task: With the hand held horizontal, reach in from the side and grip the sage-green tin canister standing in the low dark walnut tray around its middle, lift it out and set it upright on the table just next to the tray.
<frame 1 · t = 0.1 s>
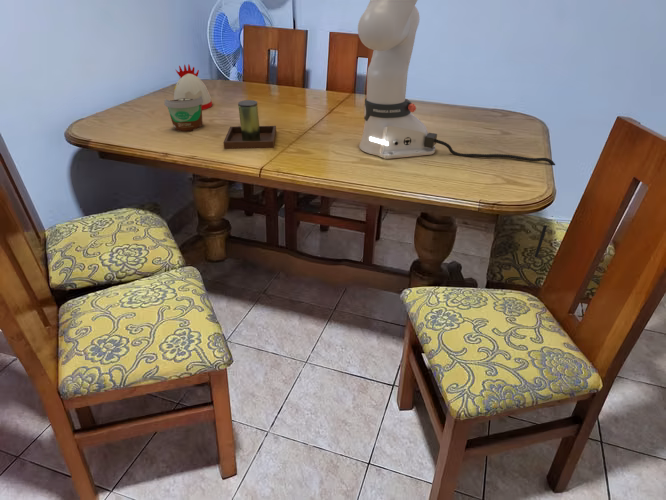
tray: (251, 141, 143), on the table
kitchen timer: (193, 106, 176), on the table
food container: (188, 130, 153), on the table
tin canister: (251, 139, 143), resting on tray
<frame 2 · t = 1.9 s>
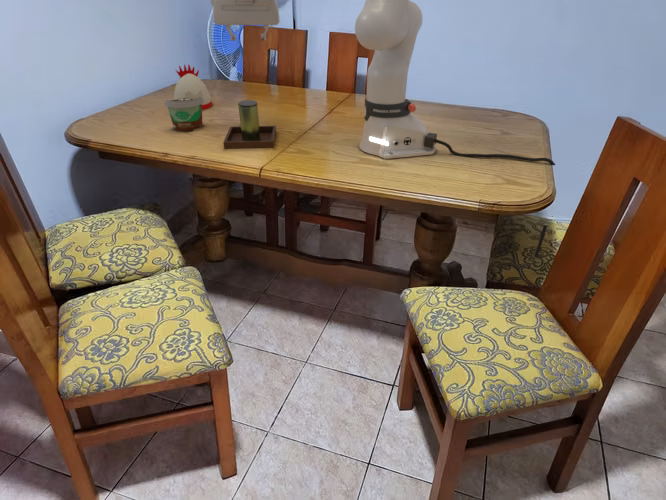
hand: (248, 40, 147), 26 cm above the table, tool pointing down, fingers open, 8 cm apart
nothing on the table moved.
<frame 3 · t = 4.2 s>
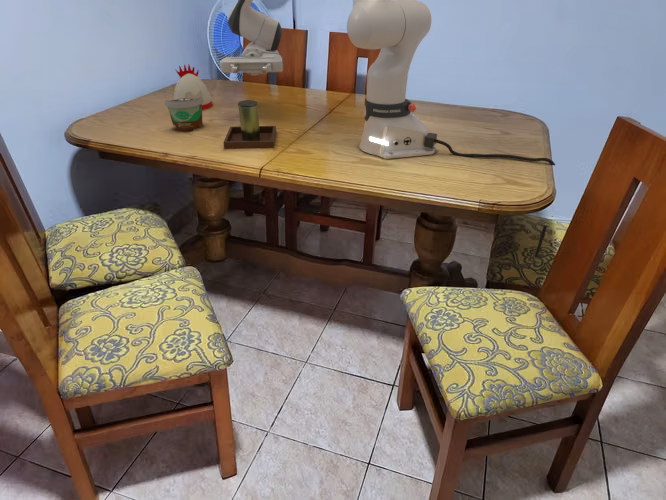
hand: (249, 70, 145), 18 cm above the table, tool horizontal, fingers open, 8 cm apart
nothing on the table moved.
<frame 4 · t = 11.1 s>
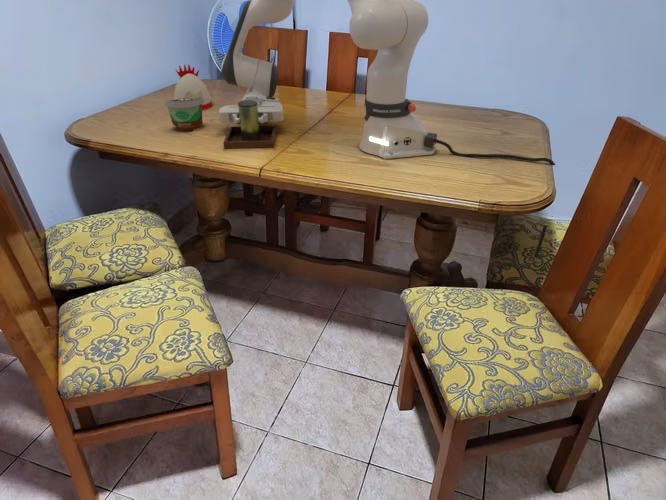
hand: (249, 121, 139), 7 cm above the table, tool horizontal, fingers closed on tin canister, 5 cm apart
tin canister: (251, 139, 143), point 1 cm above the table, touching gripper, tray
everything else where it was.
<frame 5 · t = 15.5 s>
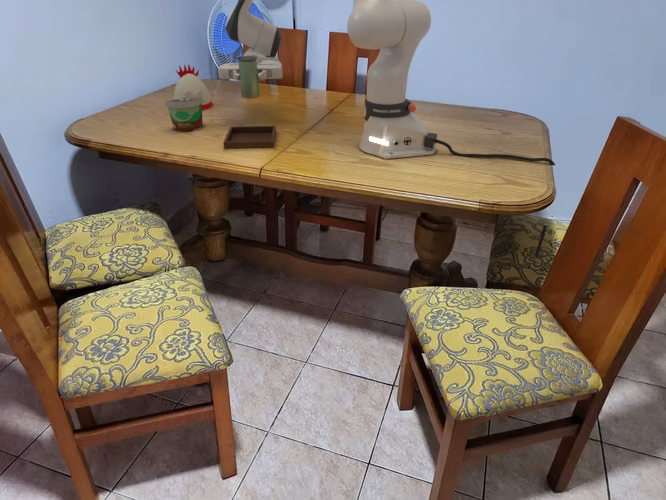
hand: (248, 77, 142), 17 cm above the table, tool horizontal, fingers closed on tin canister, 5 cm apart
tin canister: (250, 96, 146), point 11 cm above the table, touching gripper
everything else where it was.
when the fingers open (6 cm above the table, at t = 20.3 s): tin canister stays where it is, on the table.
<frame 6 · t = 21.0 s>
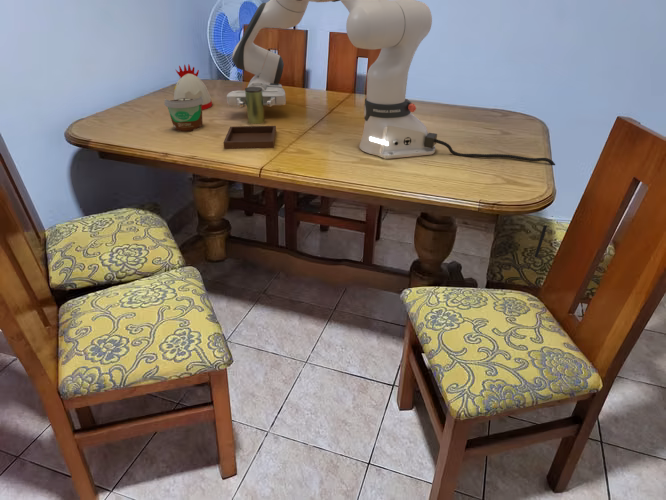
hand: (254, 104, 155), 7 cm above the table, tool horizontal, fingers open, 8 cm apart
tin canister: (256, 122, 159), on the table
everything else where it was.
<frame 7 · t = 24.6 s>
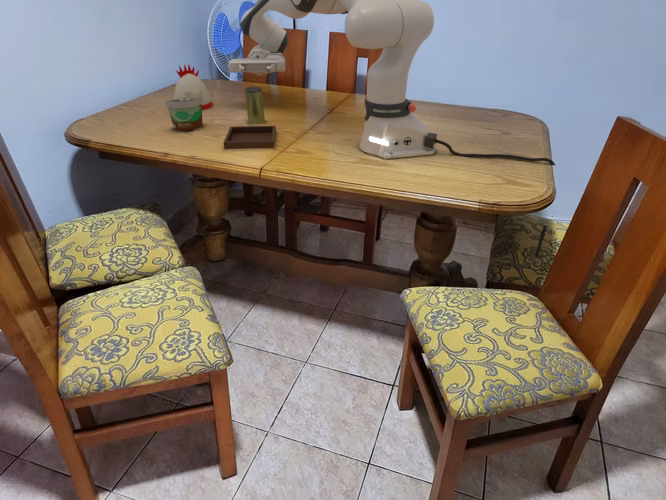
hand: (255, 69, 159), 15 cm above the table, tool horizontal, fingers open, 8 cm apart
nothing on the table moved.
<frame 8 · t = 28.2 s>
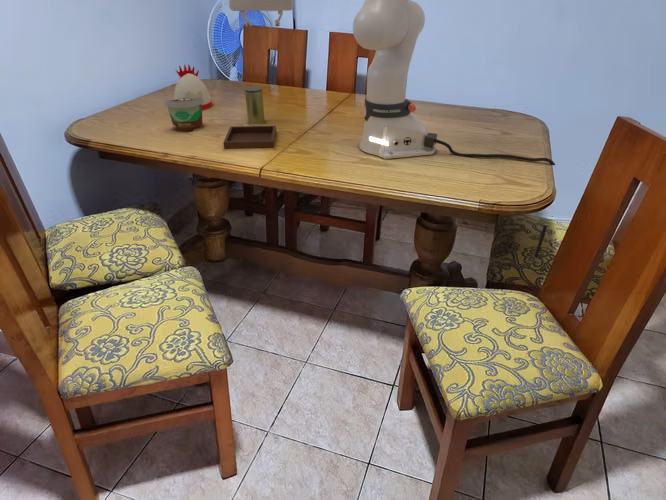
hand: (263, 26, 150), 29 cm above the table, tool pointing down, fingers open, 8 cm apart
nothing on the table moved.
at the end: tin canister inside the target area (0.1 cm from its centre), on the table; tin canister tilted 0°; the gripper is holding nothing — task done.
